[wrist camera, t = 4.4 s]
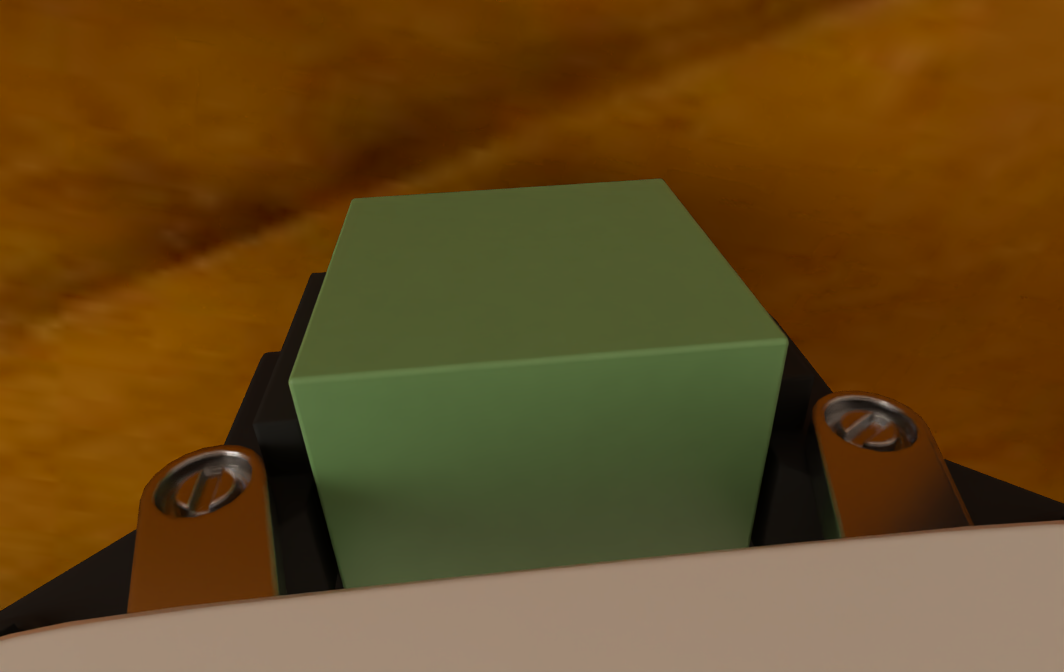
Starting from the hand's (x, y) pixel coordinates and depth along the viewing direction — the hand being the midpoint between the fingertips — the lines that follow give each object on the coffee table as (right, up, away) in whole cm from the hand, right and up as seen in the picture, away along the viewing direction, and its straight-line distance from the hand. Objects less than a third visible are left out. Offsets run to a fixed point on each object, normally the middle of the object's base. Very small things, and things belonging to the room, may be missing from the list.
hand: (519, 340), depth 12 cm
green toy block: (0, 0, +1) cm, 1 cm away
